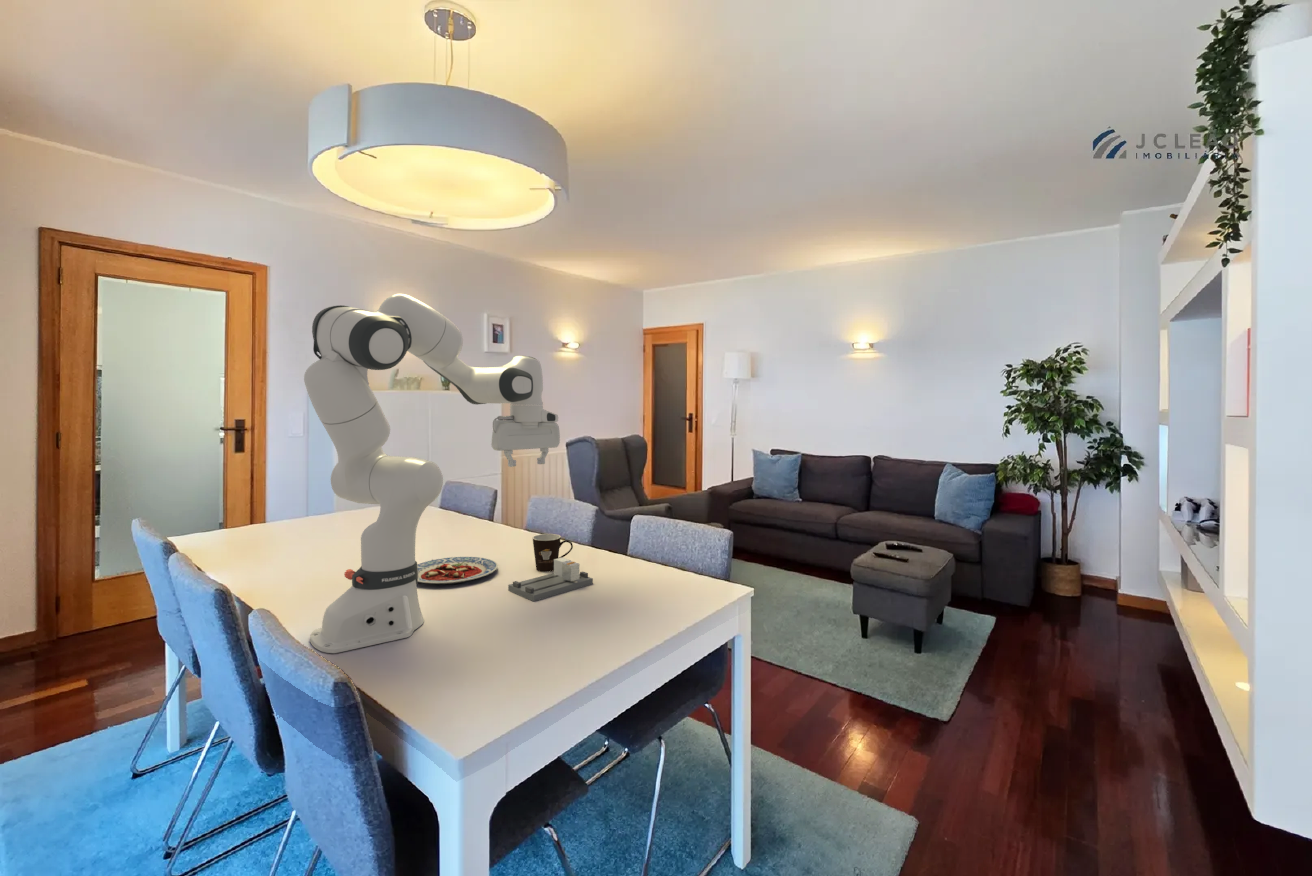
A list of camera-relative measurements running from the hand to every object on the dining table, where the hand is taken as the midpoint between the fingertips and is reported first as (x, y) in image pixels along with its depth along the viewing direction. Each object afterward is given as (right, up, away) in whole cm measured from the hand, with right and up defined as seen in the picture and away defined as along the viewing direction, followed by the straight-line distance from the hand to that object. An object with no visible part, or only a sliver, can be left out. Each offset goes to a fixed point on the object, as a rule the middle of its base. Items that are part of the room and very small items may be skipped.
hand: (526, 465), depth 152 cm
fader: (+12, -32, +2) cm, 34 cm away
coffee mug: (+3, -33, +18) cm, 38 cm away
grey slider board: (+7, -34, +1) cm, 35 cm away
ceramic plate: (-25, -34, +11) cm, 43 cm away
